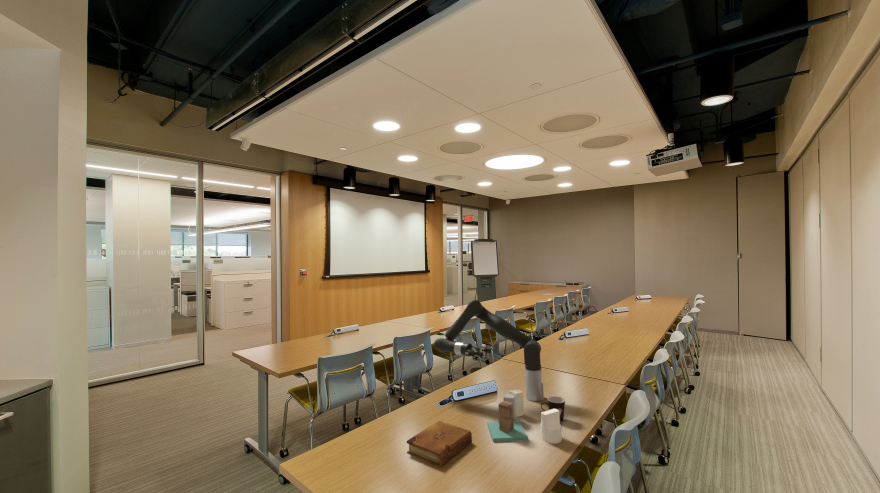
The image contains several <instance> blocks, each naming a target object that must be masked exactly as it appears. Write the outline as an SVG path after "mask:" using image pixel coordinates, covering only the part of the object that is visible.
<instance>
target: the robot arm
mask: <svg viewBox="0 0 880 493" xmlns="http://www.w3.org/2000/svg"><path fill="white" fill-rule="evenodd" d="M474 317H476V318H478V319H479V320H481V321H483V323H486V325H488V326H489V328H491V330H493V331H494V332H496V333H497V334H498V335H500V336H501V337H503V338H505V339H506V340H509V341H512V342H514V343H516V344H517V345H519V346H520V347H521V348H522V349H523V357H524V358H523V361H524V367H525V370H524V372H525V373H524V374H525V390H526V392H525V396H526V400H528V401H531V402H540V401H543V400H545V399H544V398H545V397H544V395H545V394H544V382H543V378H542V376H543V375H542V363H541V351H542V346H541V344H540V343H539V342H538V341H537V340H535V339H534V338H532V337H529V336H528V335H526V334H525V333H523V332H522V331H521V330H519V329H518V328H517V327H516V326H514V325H512V324H511V323H510V322H508V320H505V319H504V318H503V317H501V316H499V315H497V314H495V313H492V312H491V311H489V309H487V308H486V307H485V306H483V304H482V303H481V301H480V300H477V299H472V300H470V301H469V302H468V304H467V305H466V307H465V309H464V310H463V312H462V313H461V315H459V317H458V318H457V319H456V320H455V322H453V324H452V325H450V327H449V328H448V329H447V331H446V332H445V333H444V335H445V338H442V337H439V338H436V339H435V341H434V342H433V345H434V348H435V349H436V350H438V351H439V352H440V353H442V354H444V353H451V354H452V355H453V354H454V355H458V356H463V357H468V358H469V357H484V353H486V354H491V353H492V349H491V348H487V346H481V345H477V346H473V344H472V343H470V342H464V341H455V340H456V339H457V338H458V337H459V335H460V334H461V333H462V332H463V330H464V329H465V327H466V325H467V324H468V323H469V321H470V320H471V319H472V318H474Z"/></svg>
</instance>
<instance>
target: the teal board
mask: <svg viewBox="0 0 880 493" xmlns="http://www.w3.org/2000/svg"><path fill="white" fill-rule="evenodd" d="M486 424H487V429H488V431H489V434H490V437H491V441H492V442H493V443H496V442H497V443H500V442H501V441H502V442H520V441H521V442H523V441H529V438H528V434H527V433H526V431H525V429H524V427H523V425H522V423H521V422H520V421H519V420H515V421H514V429H513V430H512V431H511V432H509V433H508V432H504V431H501V430H499V421H489V422H487V423H486Z"/></svg>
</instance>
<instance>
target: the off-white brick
mask: <svg viewBox="0 0 880 493" xmlns="http://www.w3.org/2000/svg"><path fill="white" fill-rule="evenodd" d="M509 394H512V395H515V418H518V417H522V416H524V414H525V412H524V409H525V407H524V392H523V391H522V390H520V389H518V388H514V389H511V390H509Z"/></svg>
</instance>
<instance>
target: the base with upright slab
mask: <svg viewBox="0 0 880 493" xmlns="http://www.w3.org/2000/svg"><path fill="white" fill-rule="evenodd" d="M540 419H541V421H540V438H541V440H542V441H544V442H545V443H548V444H560V443H561V442H562V441H563V439H562V425H561V422H560V414H559V410H557V409H555V408H554V409H551V410H549V409H548V410H545V411H544V410H543V411H542V412H540ZM561 440H562V441H561Z"/></svg>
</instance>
